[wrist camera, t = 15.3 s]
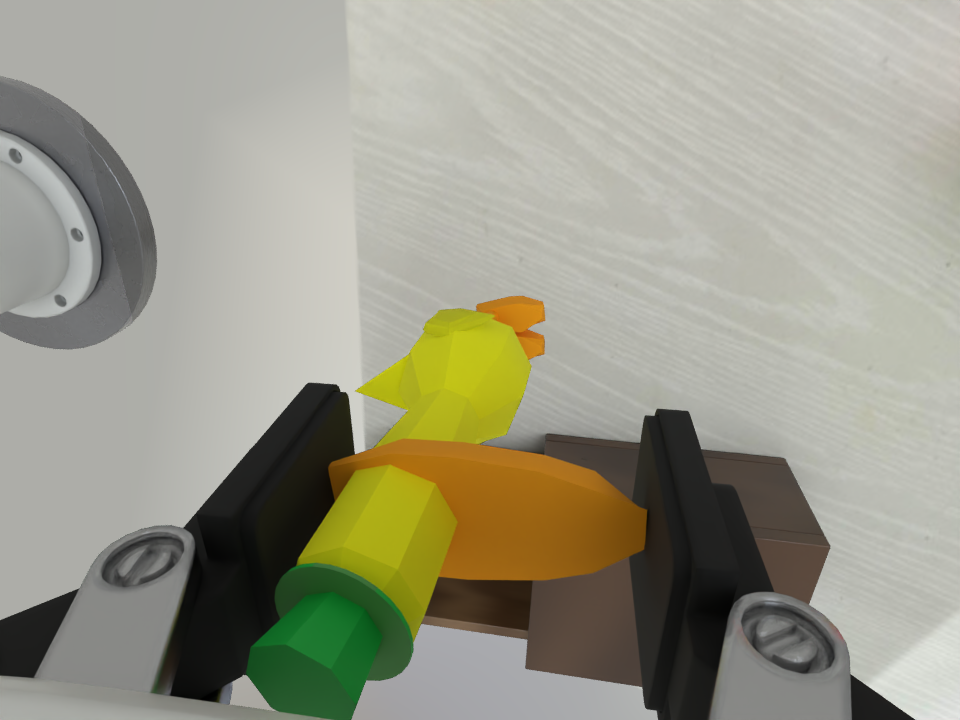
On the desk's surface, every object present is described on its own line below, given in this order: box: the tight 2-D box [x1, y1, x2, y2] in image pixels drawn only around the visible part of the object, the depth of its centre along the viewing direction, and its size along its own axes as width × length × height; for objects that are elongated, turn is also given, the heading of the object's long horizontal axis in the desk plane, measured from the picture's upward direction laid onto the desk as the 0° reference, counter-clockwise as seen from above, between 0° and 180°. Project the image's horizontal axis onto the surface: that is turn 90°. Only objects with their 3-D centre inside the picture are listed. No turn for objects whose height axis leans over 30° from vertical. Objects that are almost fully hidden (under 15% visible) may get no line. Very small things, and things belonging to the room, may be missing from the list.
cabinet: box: [525, 434, 830, 687], centre depth 37 cm, size 15×13×8 cm
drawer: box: [421, 577, 533, 640], centre depth 38 cm, size 18×11×6 cm, turn 89°
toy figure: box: [246, 296, 647, 720], centre depth 12 cm, size 7×4×12 cm, turn 94°
